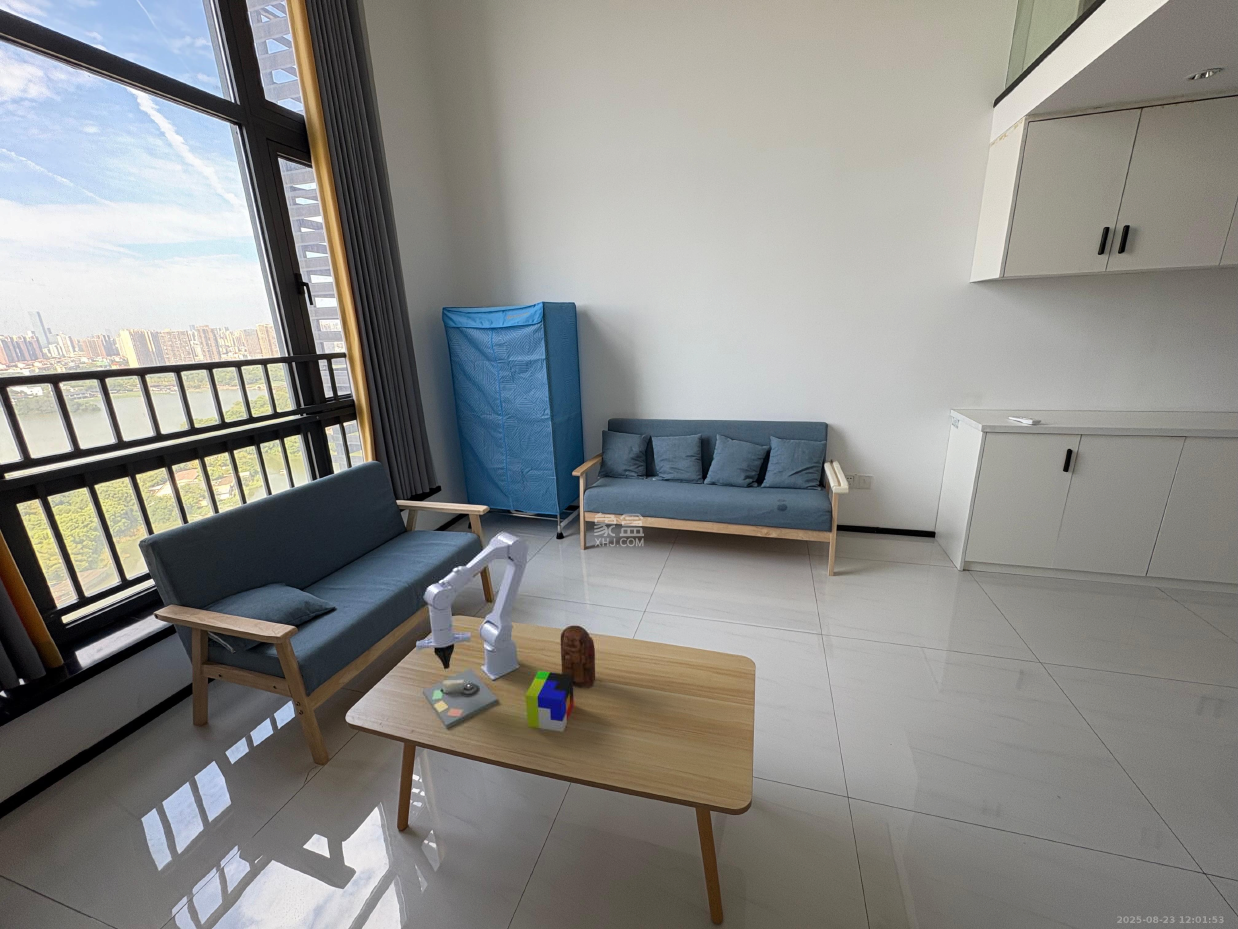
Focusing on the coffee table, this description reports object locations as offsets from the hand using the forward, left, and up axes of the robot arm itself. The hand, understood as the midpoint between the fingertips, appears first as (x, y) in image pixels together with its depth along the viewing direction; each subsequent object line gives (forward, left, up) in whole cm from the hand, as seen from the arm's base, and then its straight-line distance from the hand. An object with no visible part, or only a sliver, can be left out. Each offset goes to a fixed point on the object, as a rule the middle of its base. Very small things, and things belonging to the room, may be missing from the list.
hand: (446, 666), depth 142 cm
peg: (-2, +1, -8) cm, 9 cm away
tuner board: (-2, +3, -10) cm, 10 cm away
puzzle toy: (-18, +26, -10) cm, 34 cm away
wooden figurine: (-32, +19, -10) cm, 39 cm away
